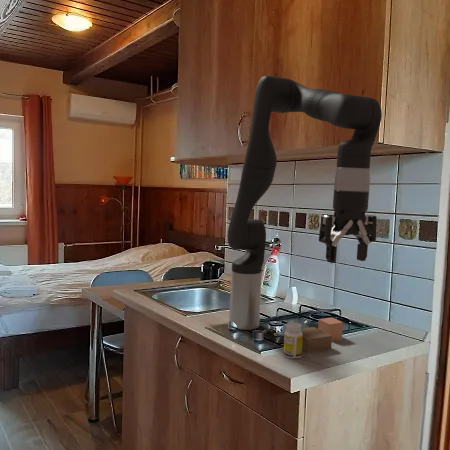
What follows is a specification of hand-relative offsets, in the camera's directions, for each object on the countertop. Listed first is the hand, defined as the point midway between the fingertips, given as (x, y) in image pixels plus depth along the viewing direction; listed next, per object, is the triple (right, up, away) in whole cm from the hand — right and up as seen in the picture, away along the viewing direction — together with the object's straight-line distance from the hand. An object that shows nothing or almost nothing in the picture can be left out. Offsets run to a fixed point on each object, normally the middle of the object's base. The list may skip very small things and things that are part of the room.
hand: (346, 261), depth 104 cm
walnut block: (-3, -26, +26) cm, 37 cm away
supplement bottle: (-9, -26, +18) cm, 33 cm away
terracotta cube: (+4, -25, +34) cm, 42 cm away
